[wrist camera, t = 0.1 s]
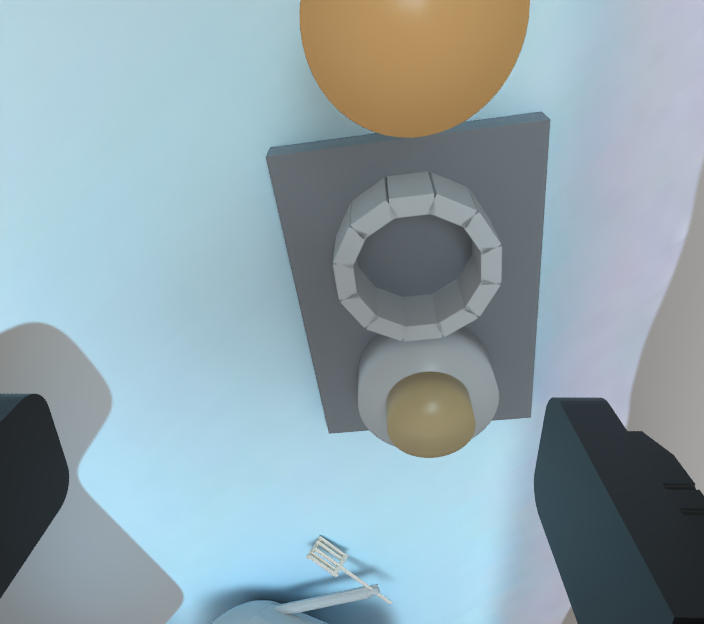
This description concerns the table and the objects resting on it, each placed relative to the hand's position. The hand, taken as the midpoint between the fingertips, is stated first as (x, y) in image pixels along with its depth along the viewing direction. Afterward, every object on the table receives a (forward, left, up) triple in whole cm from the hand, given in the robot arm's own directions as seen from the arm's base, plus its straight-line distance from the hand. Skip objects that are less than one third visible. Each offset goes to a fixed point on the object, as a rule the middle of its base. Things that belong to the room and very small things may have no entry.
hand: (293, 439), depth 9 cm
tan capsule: (-6, -1, -22) cm, 23 cm away
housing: (+8, +9, -22) cm, 25 cm away
